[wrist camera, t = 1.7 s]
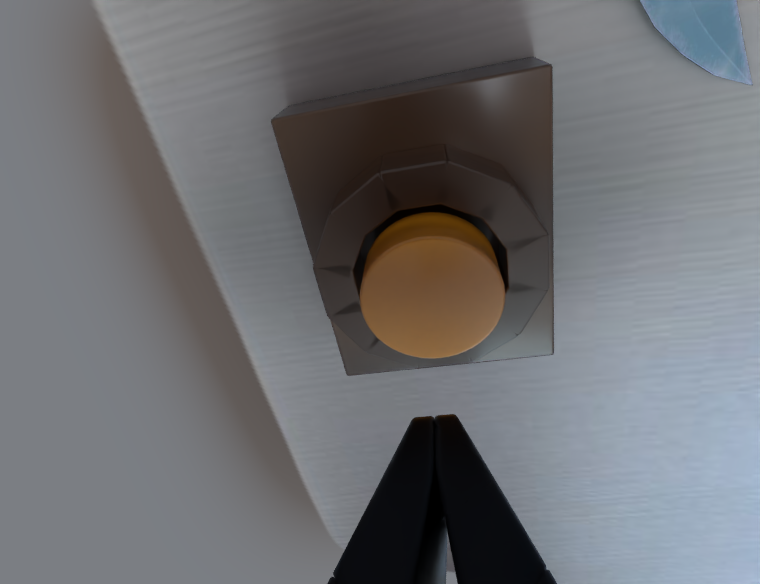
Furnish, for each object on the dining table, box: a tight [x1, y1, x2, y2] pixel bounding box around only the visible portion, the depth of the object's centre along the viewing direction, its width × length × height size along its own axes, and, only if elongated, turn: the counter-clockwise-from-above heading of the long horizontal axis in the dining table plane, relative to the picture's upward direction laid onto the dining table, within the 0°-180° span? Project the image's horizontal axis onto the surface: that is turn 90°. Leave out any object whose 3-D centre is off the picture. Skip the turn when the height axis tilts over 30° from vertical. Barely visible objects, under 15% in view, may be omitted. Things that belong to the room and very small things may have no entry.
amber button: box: [360, 212, 505, 358], centre depth 14 cm, size 4×4×2 cm
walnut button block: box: [271, 57, 554, 376], centre depth 16 cm, size 10×8×4 cm
